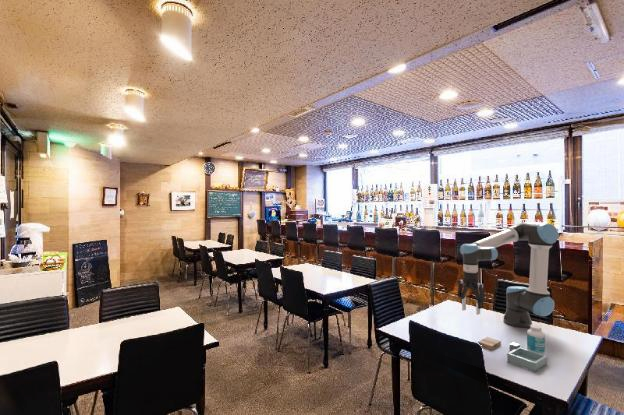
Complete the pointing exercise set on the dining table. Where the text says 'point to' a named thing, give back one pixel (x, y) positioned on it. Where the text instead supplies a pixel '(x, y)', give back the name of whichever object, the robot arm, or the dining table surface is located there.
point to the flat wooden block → (489, 343)
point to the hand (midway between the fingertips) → (471, 311)
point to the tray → (527, 359)
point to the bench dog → (514, 346)
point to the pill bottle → (536, 339)
